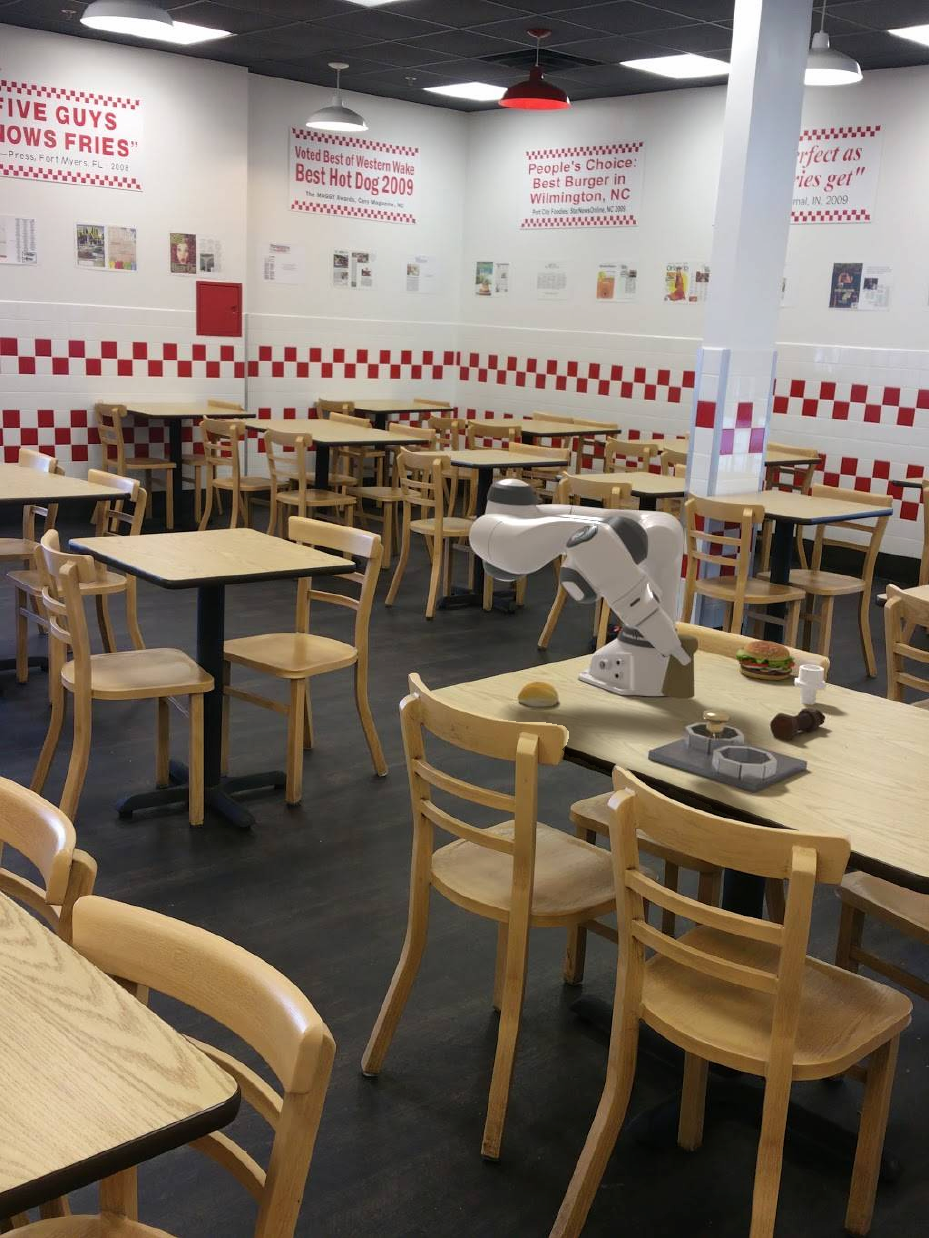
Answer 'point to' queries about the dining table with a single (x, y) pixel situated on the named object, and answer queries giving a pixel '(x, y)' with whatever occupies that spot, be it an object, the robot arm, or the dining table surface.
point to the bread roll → (538, 695)
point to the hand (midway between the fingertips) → (685, 658)
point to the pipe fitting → (810, 682)
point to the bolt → (795, 723)
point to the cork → (681, 671)
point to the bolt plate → (726, 755)
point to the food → (765, 660)
